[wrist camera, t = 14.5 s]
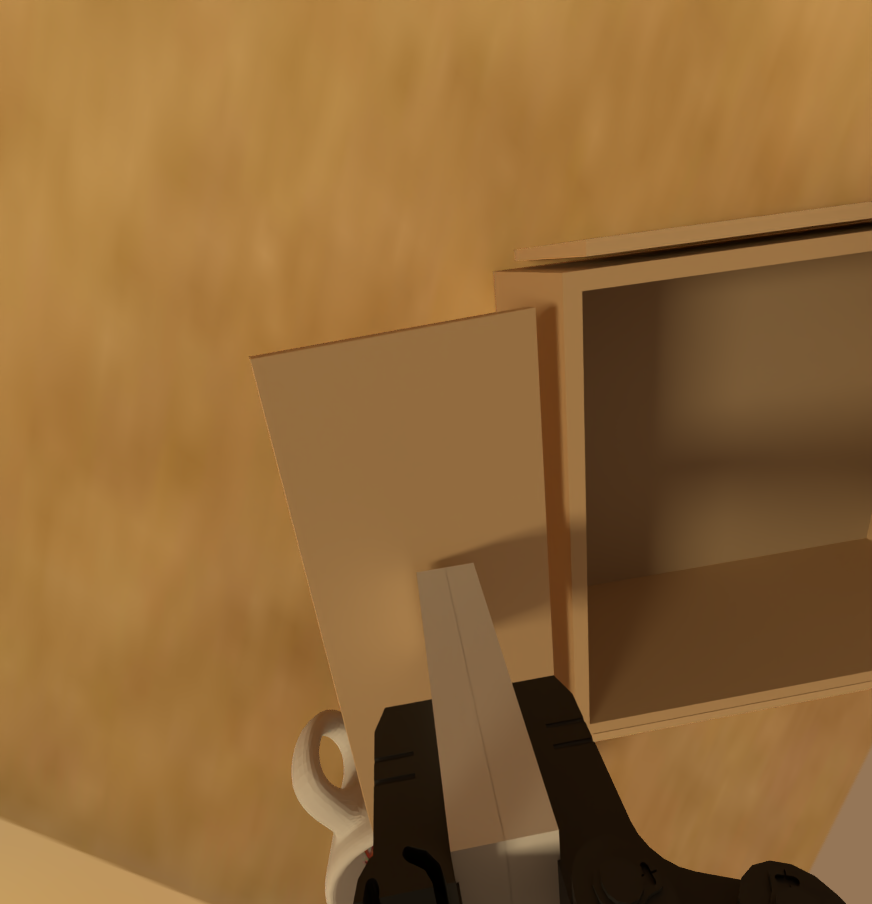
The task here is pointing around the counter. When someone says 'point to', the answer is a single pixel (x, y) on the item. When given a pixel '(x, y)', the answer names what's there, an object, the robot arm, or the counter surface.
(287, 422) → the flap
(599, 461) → the carton
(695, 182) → the counter surface
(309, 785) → the cup
